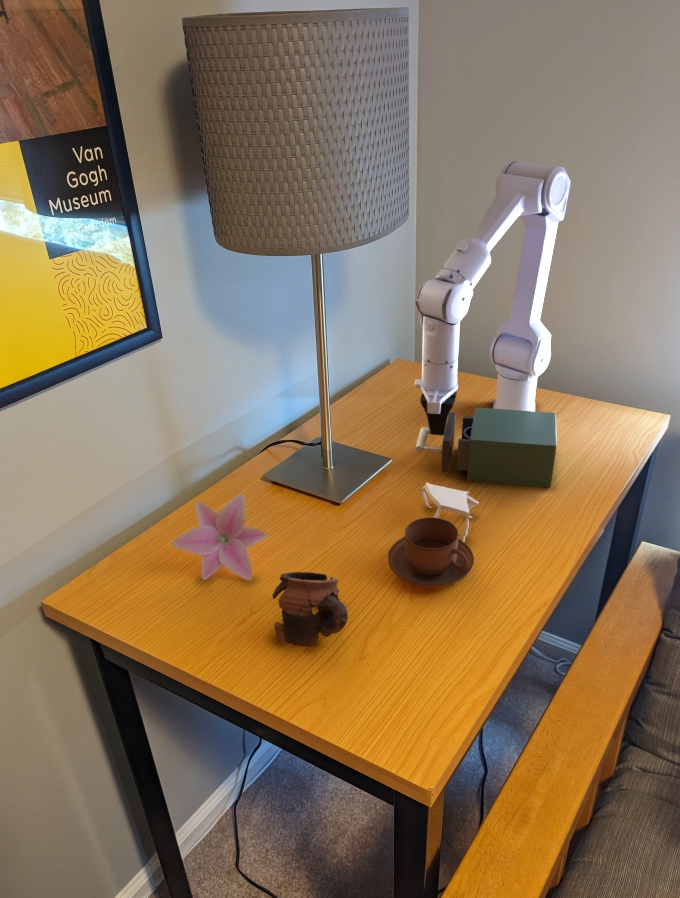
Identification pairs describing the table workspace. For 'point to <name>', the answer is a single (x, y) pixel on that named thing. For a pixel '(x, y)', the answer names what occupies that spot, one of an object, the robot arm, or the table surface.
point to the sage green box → (512, 447)
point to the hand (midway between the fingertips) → (437, 433)
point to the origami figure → (450, 502)
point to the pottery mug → (308, 608)
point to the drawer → (449, 443)
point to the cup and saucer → (431, 554)
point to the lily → (222, 538)
